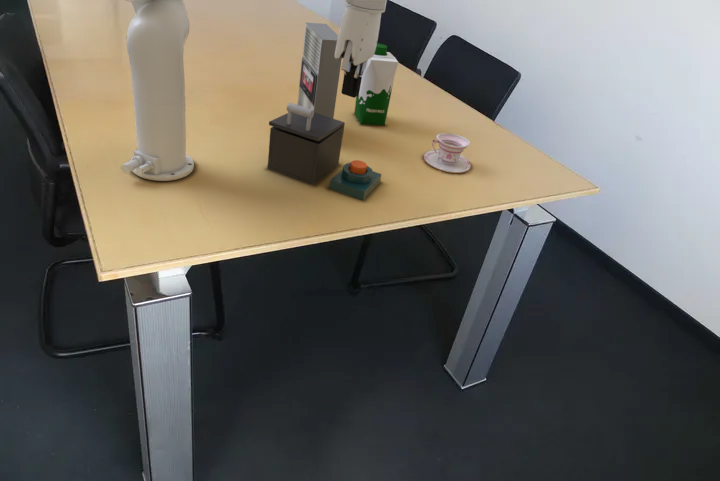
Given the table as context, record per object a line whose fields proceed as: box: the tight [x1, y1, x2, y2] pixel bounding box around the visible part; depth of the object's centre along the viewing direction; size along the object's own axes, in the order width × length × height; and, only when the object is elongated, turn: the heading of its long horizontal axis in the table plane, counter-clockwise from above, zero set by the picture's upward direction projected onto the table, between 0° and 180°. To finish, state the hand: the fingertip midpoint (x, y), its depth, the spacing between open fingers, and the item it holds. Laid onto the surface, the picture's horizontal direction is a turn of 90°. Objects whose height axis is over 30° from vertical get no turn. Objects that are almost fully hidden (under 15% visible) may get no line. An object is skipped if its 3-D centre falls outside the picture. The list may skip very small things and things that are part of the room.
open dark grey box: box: [267, 125, 345, 186], centre depth 125 cm, size 13×12×10 cm
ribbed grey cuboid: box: [297, 22, 343, 119], centre depth 138 cm, size 14×6×25 cm, turn 21°
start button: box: [350, 159, 368, 174], centre depth 122 cm, size 4×4×2 cm
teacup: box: [423, 132, 472, 174], centre depth 140 cm, size 12×12×6 cm
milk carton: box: [354, 42, 399, 126], centre depth 152 cm, size 9×9×20 cm
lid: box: [268, 102, 346, 141], centre depth 121 cm, size 13×12×5 cm
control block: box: [329, 162, 382, 201], centre depth 123 cm, size 10×8×4 cm
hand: (349, 94), depth 114 cm, fingers closed
